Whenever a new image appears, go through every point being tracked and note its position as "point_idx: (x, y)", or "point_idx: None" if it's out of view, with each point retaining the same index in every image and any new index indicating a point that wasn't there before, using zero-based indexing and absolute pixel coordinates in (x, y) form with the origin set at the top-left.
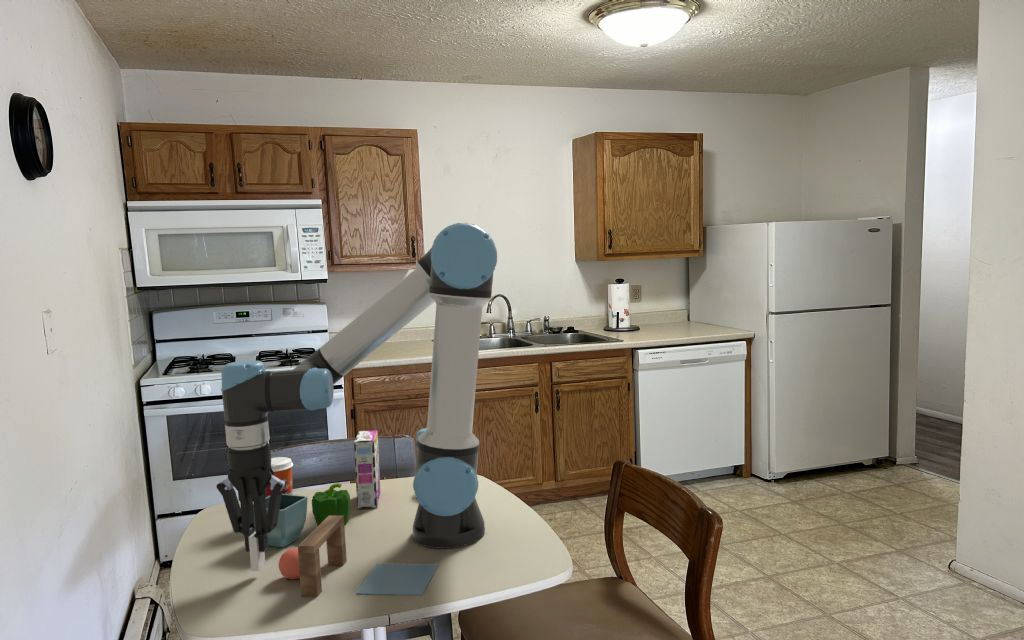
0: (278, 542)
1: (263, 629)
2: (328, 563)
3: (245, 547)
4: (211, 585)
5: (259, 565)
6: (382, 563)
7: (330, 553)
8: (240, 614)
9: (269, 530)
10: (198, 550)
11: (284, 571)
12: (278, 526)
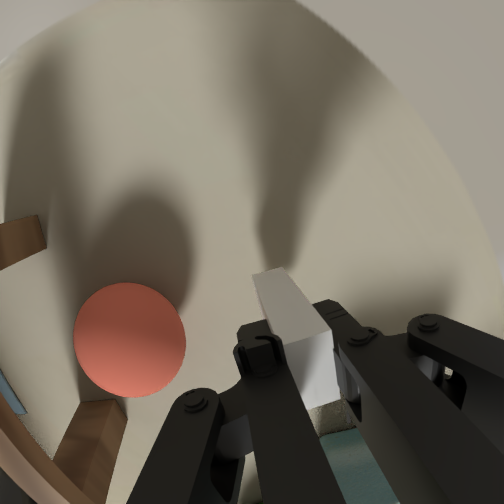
0: (334, 439)
1: (36, 41)
2: (112, 402)
3: (340, 306)
4: (378, 185)
5: (255, 289)
6: (17, 413)
7: (98, 423)
8: (137, 56)
9: (184, 402)
10: (494, 335)
11: (124, 284)
12: (340, 474)
